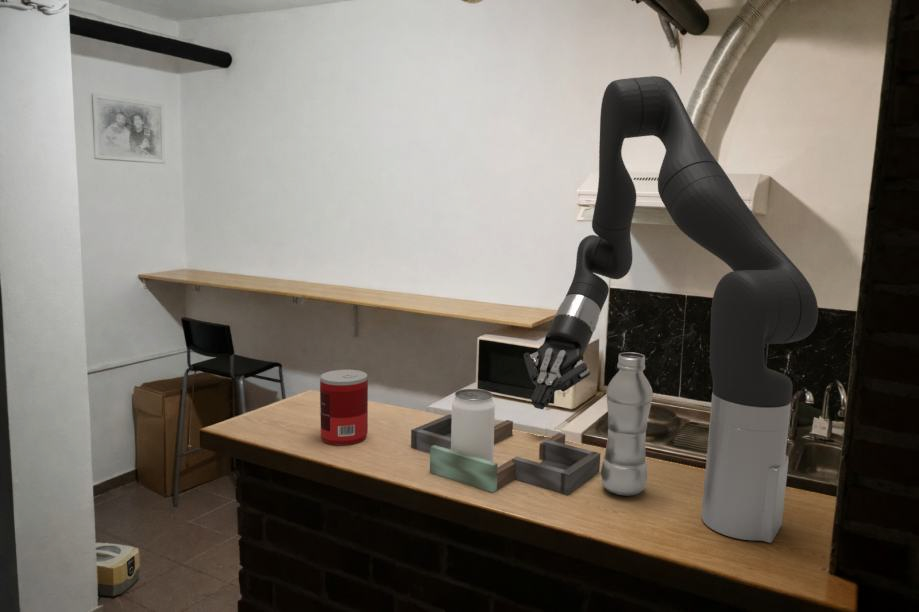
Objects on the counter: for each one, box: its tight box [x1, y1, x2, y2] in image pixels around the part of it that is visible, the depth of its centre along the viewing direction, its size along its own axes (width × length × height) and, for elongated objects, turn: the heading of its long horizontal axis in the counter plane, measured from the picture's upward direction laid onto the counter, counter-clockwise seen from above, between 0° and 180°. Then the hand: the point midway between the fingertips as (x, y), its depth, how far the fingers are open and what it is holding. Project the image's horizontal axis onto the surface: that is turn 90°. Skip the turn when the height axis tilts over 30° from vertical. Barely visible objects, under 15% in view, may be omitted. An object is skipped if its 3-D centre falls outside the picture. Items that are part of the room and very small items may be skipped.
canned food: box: [319, 369, 369, 446], centre depth 118 cm, size 8×8×11 cm
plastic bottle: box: [600, 351, 654, 496], centre depth 98 cm, size 6×7×20 cm
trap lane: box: [410, 413, 602, 496], centre depth 110 cm, size 29×22×4 cm
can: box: [451, 388, 496, 462], centre depth 105 cm, size 6×6×12 cm
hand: (537, 406), depth 119 cm, fingers closed
